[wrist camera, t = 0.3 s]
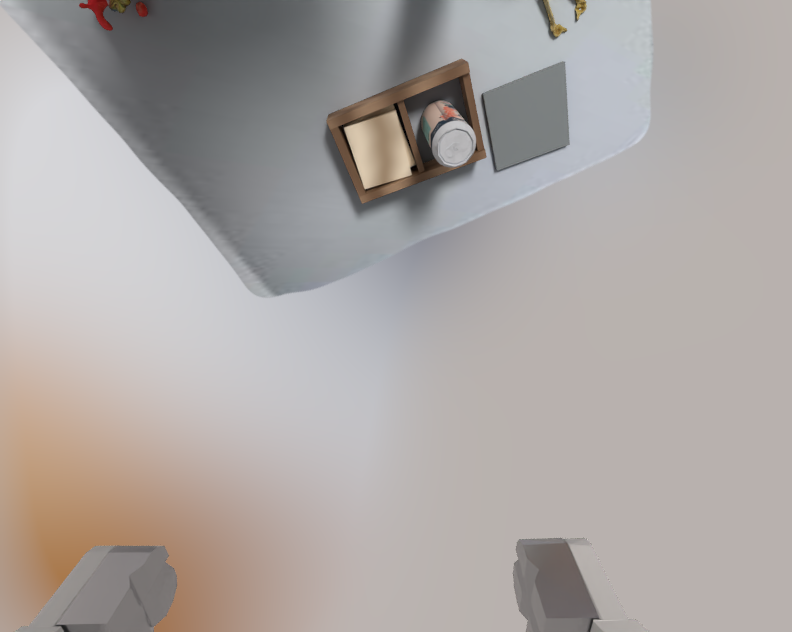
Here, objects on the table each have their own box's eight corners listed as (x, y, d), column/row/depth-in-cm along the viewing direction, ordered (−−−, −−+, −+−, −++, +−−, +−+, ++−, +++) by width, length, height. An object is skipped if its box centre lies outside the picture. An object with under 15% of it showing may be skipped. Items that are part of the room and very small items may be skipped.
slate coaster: (496, 169, 55) (497, 170, 54) (482, 93, 48) (483, 94, 48) (567, 143, 53) (569, 144, 53) (562, 61, 47) (564, 61, 46)
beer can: (464, 122, 50) (486, 150, 41) (434, 147, 52) (449, 179, 43) (443, 90, 48) (462, 112, 39) (412, 117, 50) (424, 144, 40)
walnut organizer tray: (362, 193, 56) (362, 203, 53) (328, 114, 49) (326, 121, 46) (480, 149, 53) (486, 157, 50) (461, 58, 46) (468, 62, 43)
